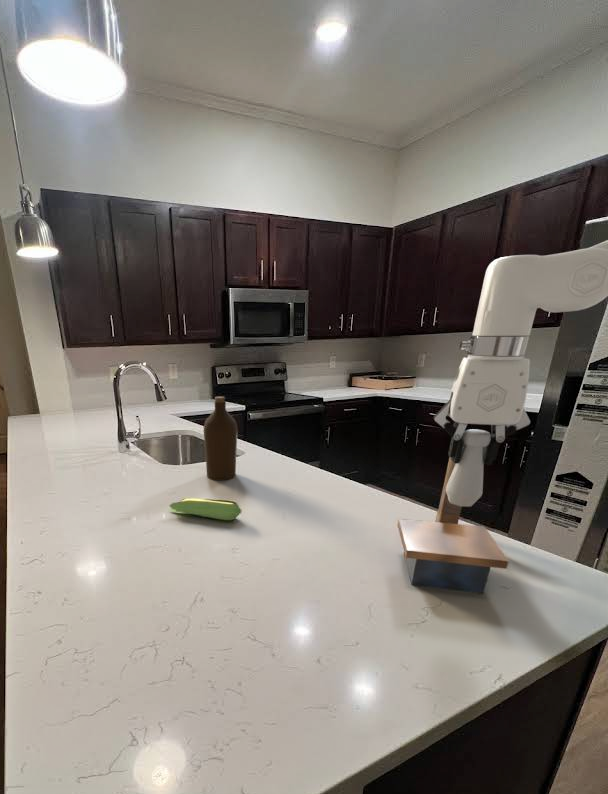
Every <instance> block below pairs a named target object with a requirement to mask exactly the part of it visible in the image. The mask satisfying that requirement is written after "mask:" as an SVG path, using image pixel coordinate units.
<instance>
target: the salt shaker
mask: <svg viewBox="0 0 608 794" xmlns="http://www.w3.org/2000/svg"><path fill="white" fill-rule="evenodd" d="M462 440H463V441H464V443H463V448H462V452H461V457H460V461H459V463H456V464H455V467H454V469H453V471H452V474H451V476H450V479H449V481H448V483H447V486H446V493H447V496H448V500H449V502H450V503H451V504H455V505H458V506H462V507H472V506H473V505H475V503H476V502H477V501H478V500H479V499H480V498H481V497H482V496H483V492H484V490H483V489H484V467H485V463H484V448H485V446H488V445H489V444H490V441H491V432H489V431H487V430H484V429H477V428H476V429H475V428H474V429H473V428H472V429H471V428H470V429H465V431H464V433H463V435H462Z"/></svg>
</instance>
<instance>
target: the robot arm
mask: <svg viewBox="0 0 608 794" xmlns="http://www.w3.org/2000/svg"><path fill="white" fill-rule="evenodd" d="M484 273H485V274H484V277H483V283H482V287H481V292H480V297H479V301H478V305H477V311H476V314H475V315H476V316H475V319H474V320H475V321H474V325H473V330H472V336H470V338H469V339H467V340H461V341H460V343H459V350H460V351H464V352H467V353H466V354H467V357H463V358H462V359H461V362H460V364H459V367H458V370H457V371H456V375H455V377H454V381H453V384H452V388H451V390H450V395H449V398H448V401H447V402H446V403H445V404H444V405H443V406H442V407H441V408H440V410H438V411H437V413H436V414H434V415H433V417H432V419H433V421H434V422H436V423H437V424H438V425H439V426H440V427H442V428H443V429H445V431H446V432H447V433H448V435H450V437H451V439H450V443H449V449H448V454H447V455H448V457H449V458H450V457H451V460H452V461H453V463H459V461H460V457H461V452H462V448H463V446H464V444H463V443H464V441H463V440H462V435H463V433H464V432H465V431H466V430H467V429H466V428H467V427H468V425H469V424H470V425H489V426H490V434H491V441H490V444H489V445H488V446H485V447H484V465H486V466H492V465H493V461H494V460H496V459H497V458H498V457H497V456H498V453H499V449H500V446H501V443H503V442H504V441H505V439H506V438H508V437H509V436H511V435H513V434H514V433H515V432H516V431H518V430H521V429H523V428H526V427H527V426H529V425H530V424H531V420H530V418H529V416H528V414H527V412H526V410H525V403H526V399H527V393H528V387H529V378H530V369H531V366H530V365H531V359H530V358H525V355H526V350H527V346H528V343H529V338H530V335H531V331H532V328H533V324H534V320H535V317H536V312H537V310H538V309H541V310H542V311H545V312H548V313H567V312H569V313H570V312H578V311H583V310H586V309H588V308H591V307H593V306H595V305H598V304H599V303H600V302H602V301H603V300H605V299H606V298H608V239H606V240H605V241H603V242H600V243H597V244H595V245H593V246H590V247H586V248H580V249H576V250H570V251H565V252H560V253H553V254H547V255H539V254H518V255H517V254H516V255H509V256H503V257H499V258H496V259H494V260H493V261H491V262H490V263H489V264H488V266H487V268H486V270H485V272H484ZM447 417H449V418H451V420H452V421H453V424H452V423H451V421H449V420H448V419H447Z"/></svg>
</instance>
